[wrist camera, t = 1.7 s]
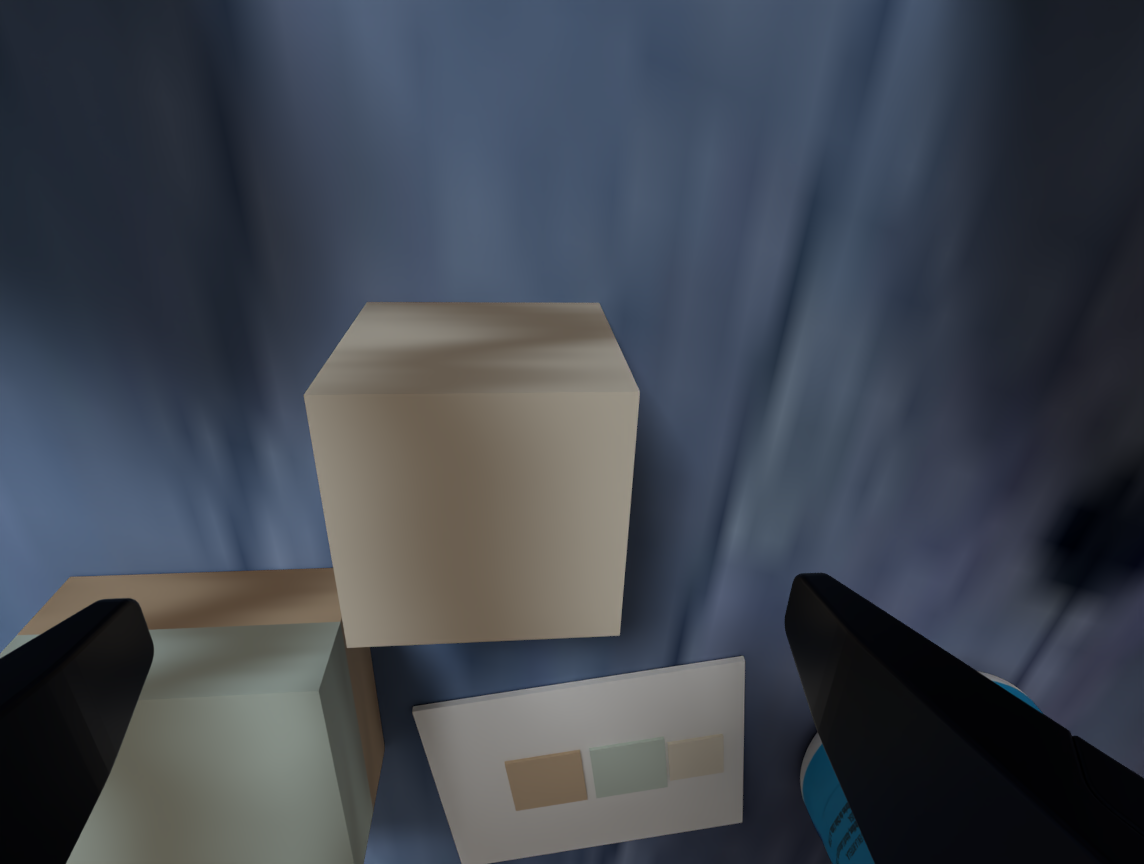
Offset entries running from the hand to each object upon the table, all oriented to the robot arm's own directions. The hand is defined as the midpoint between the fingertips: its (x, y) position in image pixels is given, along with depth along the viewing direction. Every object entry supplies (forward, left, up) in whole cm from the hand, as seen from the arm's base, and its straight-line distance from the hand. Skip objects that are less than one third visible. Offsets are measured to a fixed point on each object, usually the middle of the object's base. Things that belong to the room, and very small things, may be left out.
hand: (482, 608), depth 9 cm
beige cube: (0, 0, -7) cm, 7 cm away
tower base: (+7, +8, -7) cm, 13 cm away
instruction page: (-3, +13, -7) cm, 15 cm away
